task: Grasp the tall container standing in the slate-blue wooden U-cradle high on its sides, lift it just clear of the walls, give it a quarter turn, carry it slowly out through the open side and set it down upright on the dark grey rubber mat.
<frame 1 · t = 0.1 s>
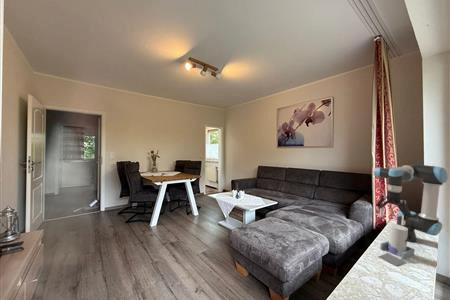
hand: (391, 220, 139), 28 cm above the countertop, fingers open, 13 cm apart
container: (396, 252, 149), on the countertop
cradle: (396, 252, 149), on the countertop
mat: (391, 259, 140), on the countertop
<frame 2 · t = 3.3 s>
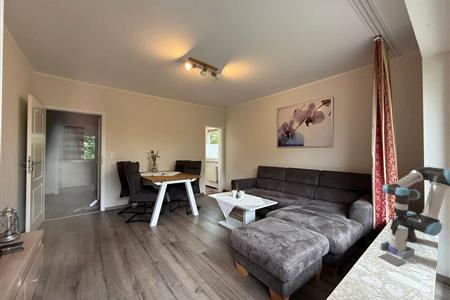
hand: (398, 237, 149), 12 cm above the countertop, fingers closed on container, 10 cm apart
container: (396, 252, 149), on the countertop, touching gripper
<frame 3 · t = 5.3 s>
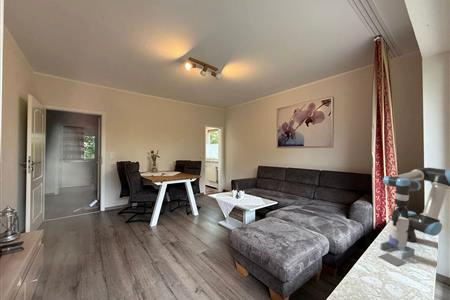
hand: (398, 228, 148), 19 cm above the countertop, fingers closed on container, 10 cm apart
container: (397, 244, 149), point 7 cm above the countertop, touching gripper
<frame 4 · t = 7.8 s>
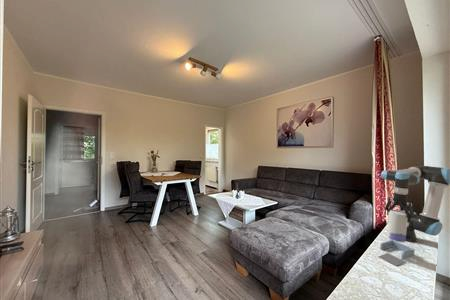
hand: (397, 223, 145), 24 cm above the countertop, fingers closed on container, 10 cm apart
container: (396, 239, 145), point 12 cm above the countertop, touching gripper
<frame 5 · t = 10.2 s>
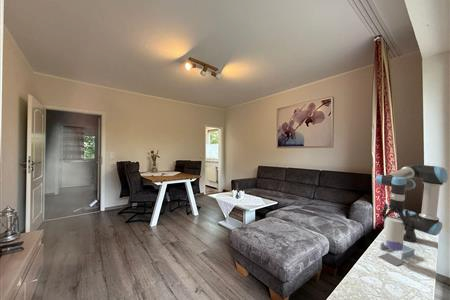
hand: (394, 230, 139), 21 cm above the countertop, fingers closed on container, 10 cm apart
container: (392, 246, 140), point 9 cm above the countertop, touching gripper
when the fingers open (13 cm above the countertop, at t = 12.4 s): container stays where it is, resting on mat.
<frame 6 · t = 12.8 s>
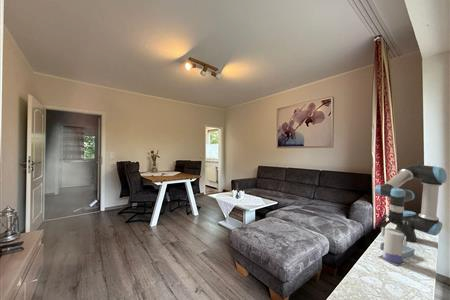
hand: (393, 240, 139), 14 cm above the countertop, fingers open, 13 cm apart
container: (391, 259, 140), resting on mat
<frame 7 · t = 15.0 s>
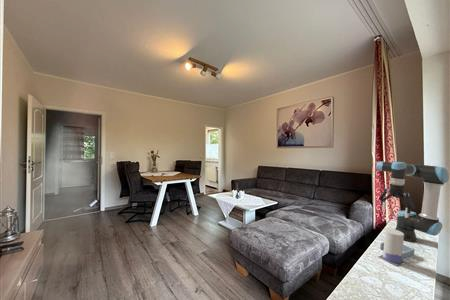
hand: (394, 213, 140), 33 cm above the countertop, fingers open, 13 cm apart
nothing on the countertop moved.
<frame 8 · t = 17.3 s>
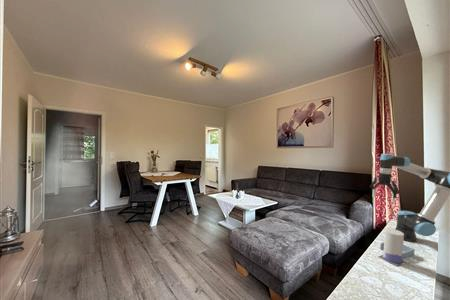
hand: (383, 199, 159), 37 cm above the countertop, fingers open, 13 cm apart
nothing on the countertop moved.
at the end: container inside the target area on the mat (0.0 cm from its centre), point 0.4 cm above the mat's base; container tilted 0°; container touching mat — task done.
